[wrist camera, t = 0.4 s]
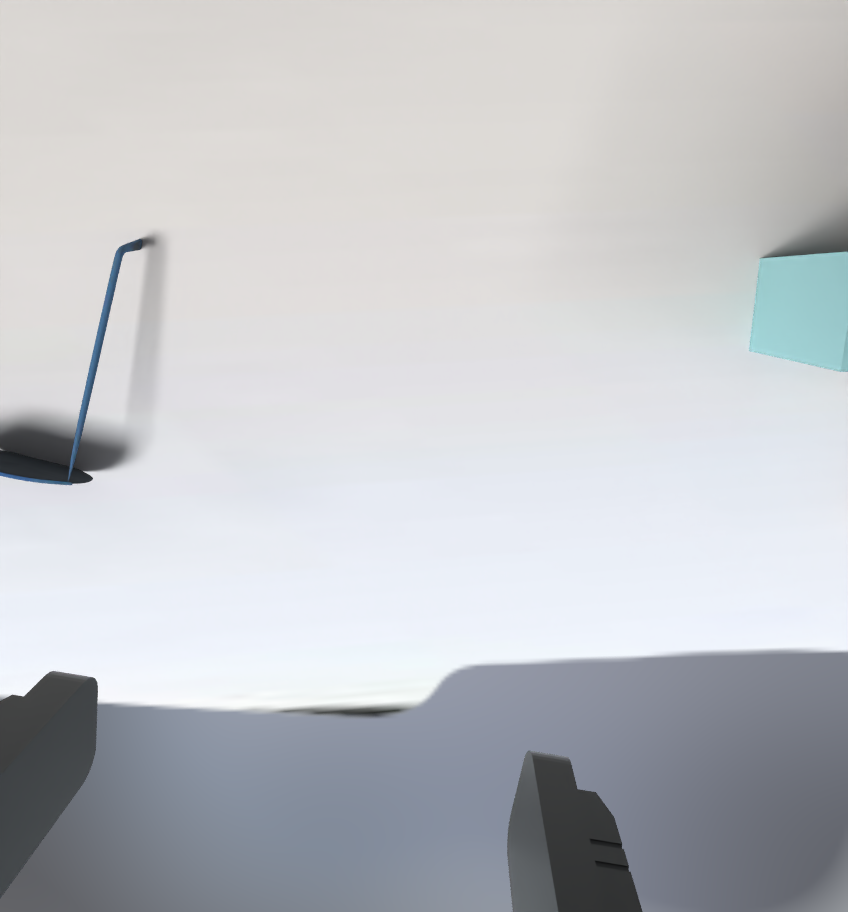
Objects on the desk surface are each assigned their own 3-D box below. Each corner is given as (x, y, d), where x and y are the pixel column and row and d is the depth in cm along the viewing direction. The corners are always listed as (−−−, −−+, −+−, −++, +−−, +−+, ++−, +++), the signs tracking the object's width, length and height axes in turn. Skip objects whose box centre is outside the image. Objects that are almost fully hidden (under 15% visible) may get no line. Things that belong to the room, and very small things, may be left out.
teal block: (759, 258, 36) (859, 250, 27) (853, 257, 36) (984, 249, 27) (748, 350, 37) (840, 371, 29) (839, 350, 37) (959, 371, 28)
